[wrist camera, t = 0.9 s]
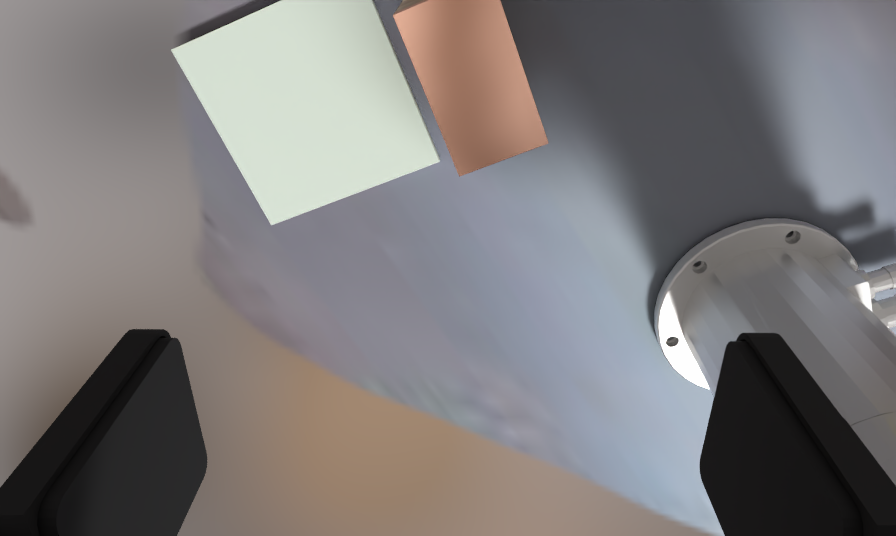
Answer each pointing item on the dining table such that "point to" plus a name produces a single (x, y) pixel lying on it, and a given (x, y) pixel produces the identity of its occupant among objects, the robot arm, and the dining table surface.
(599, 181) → the dining table surface
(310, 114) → the pale green square plate
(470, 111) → the maple block
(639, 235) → the dining table surface
